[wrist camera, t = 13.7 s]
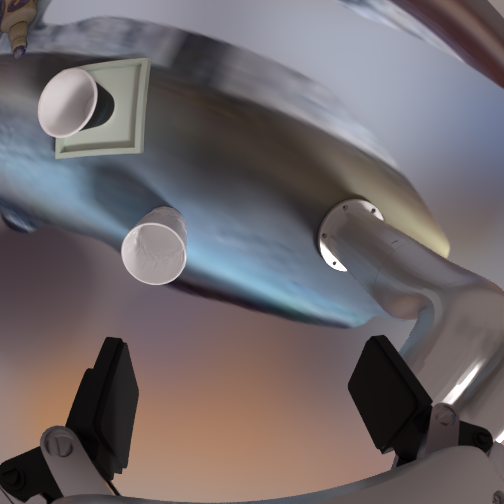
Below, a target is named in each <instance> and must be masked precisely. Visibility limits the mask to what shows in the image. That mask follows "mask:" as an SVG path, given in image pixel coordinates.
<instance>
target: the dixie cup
mask: <svg viewBox="0 0 504 504" xmlns="http://www.w3.org/2000/svg"><path fill="white" fill-rule="evenodd" d="M114 110H115V102H114V98H113V96H112V95H111V94H110V93H109V92H108V91H107V90H105V89H104V88H103V87H102V86H101V85H99V84H98V83H97V82H96V81H95V80H94V78H93V77H92V76H91V75H90V74H89V73H88V72H87V71H85V70H83V69H79V68H71V69H67V70H64V71H62V72H60V73H58V74H57V75H56V76H54V77H53V78H52V79H51V80H50V81H49V82H48V84H47V85H46V87H45V88H44V90H43V92H42V94H41V97H40V100H39V104H38V118H39V122H40V125H41V127H42V128H43V130H44V131H45V132H46V133H47V134H49V135H51V136H53V137H56V138H65V137H69V136H71V135H73V134H75V133H77V132H79V131H82V130H86V129H90V128H94V127H98V126H101V125H103V124H105V123H106V122H107V121H108V120H109V119H110V118H111V117H112V115H113V113H114Z"/></svg>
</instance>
